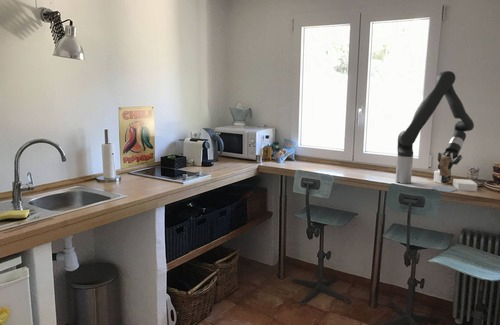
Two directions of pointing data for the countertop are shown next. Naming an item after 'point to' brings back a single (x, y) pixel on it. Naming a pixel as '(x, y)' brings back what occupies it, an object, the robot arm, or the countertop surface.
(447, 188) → the slate mat
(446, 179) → the medicine bottle
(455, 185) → the shelf riser
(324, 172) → the countertop surface
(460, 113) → the robot arm
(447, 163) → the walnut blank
